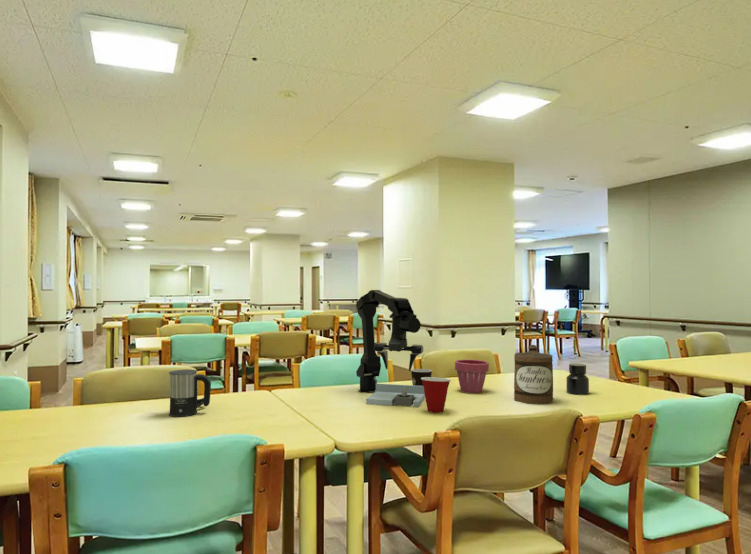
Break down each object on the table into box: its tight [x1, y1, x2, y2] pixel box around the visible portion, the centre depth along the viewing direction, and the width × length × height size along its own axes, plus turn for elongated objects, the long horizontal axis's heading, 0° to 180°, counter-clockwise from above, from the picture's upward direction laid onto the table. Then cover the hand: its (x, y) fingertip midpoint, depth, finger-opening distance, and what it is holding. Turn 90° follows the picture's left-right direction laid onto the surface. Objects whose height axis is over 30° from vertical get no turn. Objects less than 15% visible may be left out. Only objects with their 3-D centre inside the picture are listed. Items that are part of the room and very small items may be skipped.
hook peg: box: [402, 388, 407, 397], centre depth 202 cm, size 2×2×6 cm
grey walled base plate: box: [365, 383, 425, 408], centre depth 207 cm, size 20×16×5 cm
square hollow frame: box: [393, 394, 414, 407], centre depth 202 cm, size 6×6×3 cm
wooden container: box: [513, 344, 554, 405], centre depth 211 cm, size 15×15×22 cm
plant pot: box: [454, 359, 490, 394], centre depth 229 cm, size 14×14×13 cm
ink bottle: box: [566, 363, 590, 395], centre depth 227 cm, size 10×9×12 cm
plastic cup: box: [421, 376, 452, 414], centre depth 192 cm, size 11×11×12 cm
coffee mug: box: [410, 368, 433, 386], centre depth 222 cm, size 12×9×10 cm
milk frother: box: [168, 369, 212, 418], centre depth 188 cm, size 14×16×15 cm
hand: (398, 370), depth 208 cm, fingers open, 9 cm apart
